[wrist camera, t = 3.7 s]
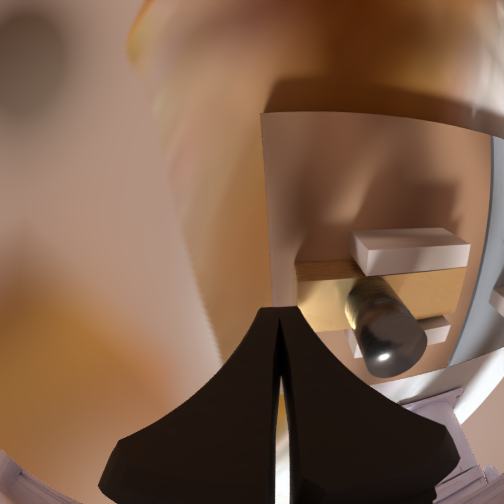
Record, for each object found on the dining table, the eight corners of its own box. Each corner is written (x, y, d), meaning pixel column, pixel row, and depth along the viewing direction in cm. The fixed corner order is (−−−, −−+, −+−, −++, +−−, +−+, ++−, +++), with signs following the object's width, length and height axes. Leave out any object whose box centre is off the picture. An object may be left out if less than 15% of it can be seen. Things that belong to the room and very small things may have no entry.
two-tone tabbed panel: (276, 372, 17) (276, 425, 13) (261, 119, 12) (257, 102, 7) (501, 330, 15) (526, 359, 11) (534, 153, 10) (575, 163, 6)
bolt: (294, 310, 13) (304, 391, 8) (293, 262, 12) (307, 334, 7) (438, 295, 12) (488, 351, 7) (447, 253, 11) (508, 301, 6)
